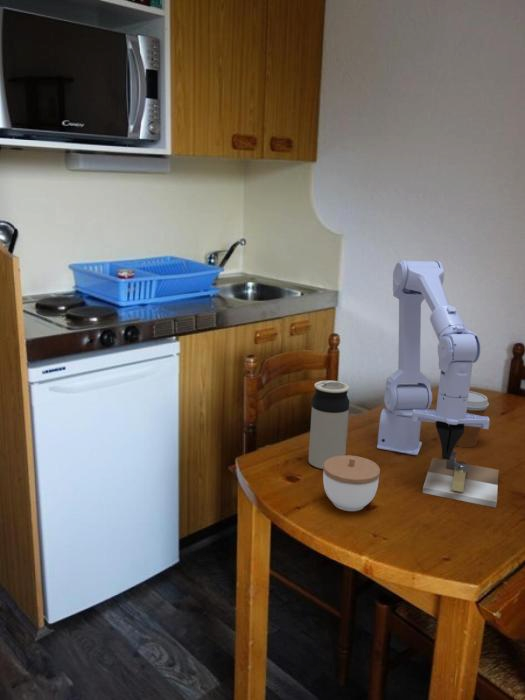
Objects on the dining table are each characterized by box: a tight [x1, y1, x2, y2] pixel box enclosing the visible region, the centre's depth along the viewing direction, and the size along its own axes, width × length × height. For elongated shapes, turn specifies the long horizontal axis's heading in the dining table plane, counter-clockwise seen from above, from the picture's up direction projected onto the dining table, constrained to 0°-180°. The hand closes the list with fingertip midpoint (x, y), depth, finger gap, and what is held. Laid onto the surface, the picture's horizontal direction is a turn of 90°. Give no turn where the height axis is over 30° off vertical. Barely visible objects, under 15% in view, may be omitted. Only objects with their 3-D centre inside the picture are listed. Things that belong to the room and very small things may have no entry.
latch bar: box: [451, 461, 470, 492], centre depth 126 cm, size 9×3×3 cm, turn 158°
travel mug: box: [308, 379, 350, 470], centre depth 134 cm, size 8×8×18 cm
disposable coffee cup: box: [455, 390, 490, 448], centre depth 150 cm, size 10×10×12 cm
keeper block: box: [446, 451, 457, 470], centre depth 135 cm, size 2×4×2 cm, turn 158°
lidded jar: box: [322, 454, 381, 512], centre depth 118 cm, size 11×11×9 cm
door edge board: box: [422, 457, 500, 508], centre depth 129 cm, size 14×16×1 cm
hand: (445, 457), depth 125 cm, fingers closed
